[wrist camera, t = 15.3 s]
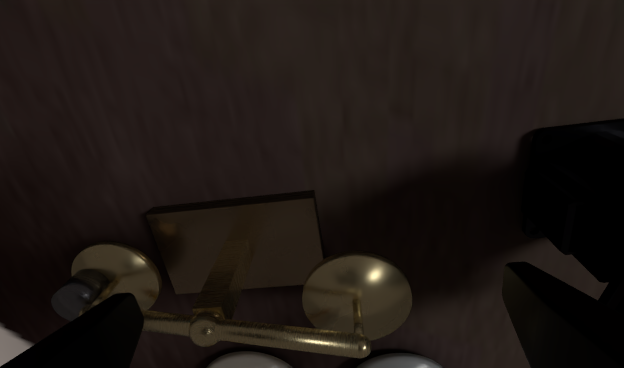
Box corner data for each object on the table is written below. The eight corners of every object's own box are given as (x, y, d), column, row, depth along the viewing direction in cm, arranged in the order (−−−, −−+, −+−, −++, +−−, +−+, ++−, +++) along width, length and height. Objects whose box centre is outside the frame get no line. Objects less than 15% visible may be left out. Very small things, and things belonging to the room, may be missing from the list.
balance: (389, 182, 20) (426, 290, 12) (394, 267, 23) (427, 403, 15) (88, 214, 22) (-51, 324, 14) (122, 288, 25) (21, 418, 17)
